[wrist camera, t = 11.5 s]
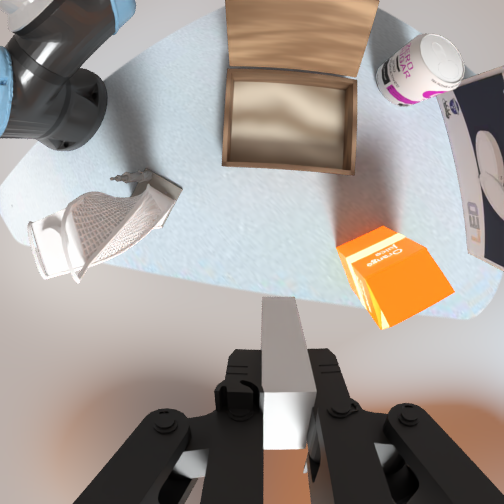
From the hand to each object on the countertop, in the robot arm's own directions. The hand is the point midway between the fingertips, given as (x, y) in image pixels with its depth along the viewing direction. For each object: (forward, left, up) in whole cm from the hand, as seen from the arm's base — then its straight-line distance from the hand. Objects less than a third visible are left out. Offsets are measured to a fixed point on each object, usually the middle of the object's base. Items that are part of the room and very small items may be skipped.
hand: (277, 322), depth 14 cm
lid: (-10, +19, -27) cm, 35 cm away
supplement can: (+3, +31, -33) cm, 45 cm away
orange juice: (+17, +5, -33) cm, 37 cm away
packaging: (+23, +30, -33) cm, 50 cm away
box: (-6, +13, -33) cm, 36 cm away
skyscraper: (-15, -9, -33) cm, 37 cm away
